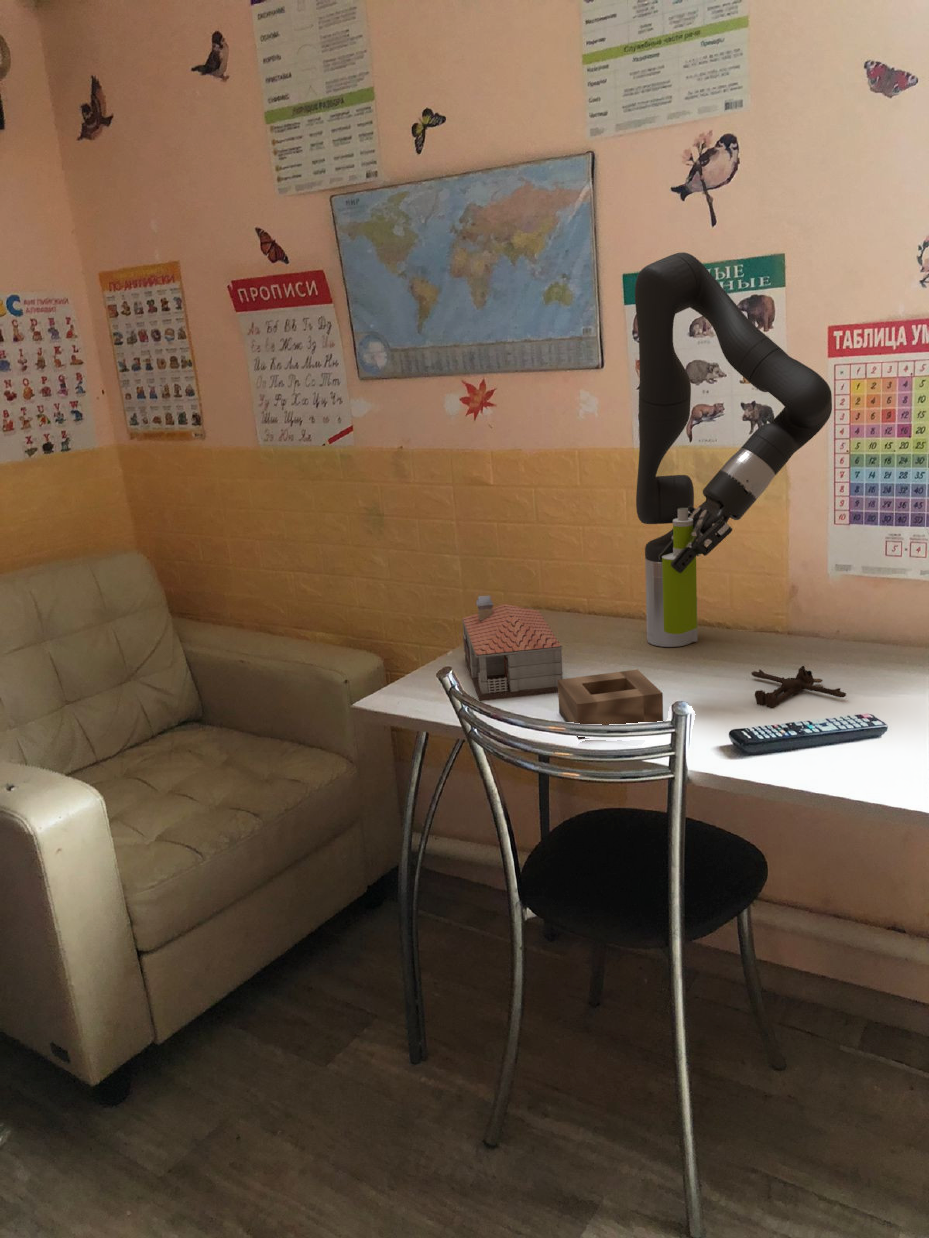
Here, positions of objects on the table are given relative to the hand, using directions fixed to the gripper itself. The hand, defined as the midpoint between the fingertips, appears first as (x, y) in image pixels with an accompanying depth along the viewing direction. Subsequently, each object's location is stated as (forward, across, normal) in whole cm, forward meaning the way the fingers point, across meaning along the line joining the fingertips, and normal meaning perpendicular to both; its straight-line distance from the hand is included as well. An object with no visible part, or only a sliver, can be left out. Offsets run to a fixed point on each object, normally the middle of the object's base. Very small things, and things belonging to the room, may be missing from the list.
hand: (669, 565), depth 166 cm
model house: (+33, -26, +2) cm, 42 cm away
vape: (+7, 0, +9) cm, 12 cm away
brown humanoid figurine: (+4, +1, +32) cm, 33 cm away
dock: (+25, +2, +9) cm, 27 cm away
